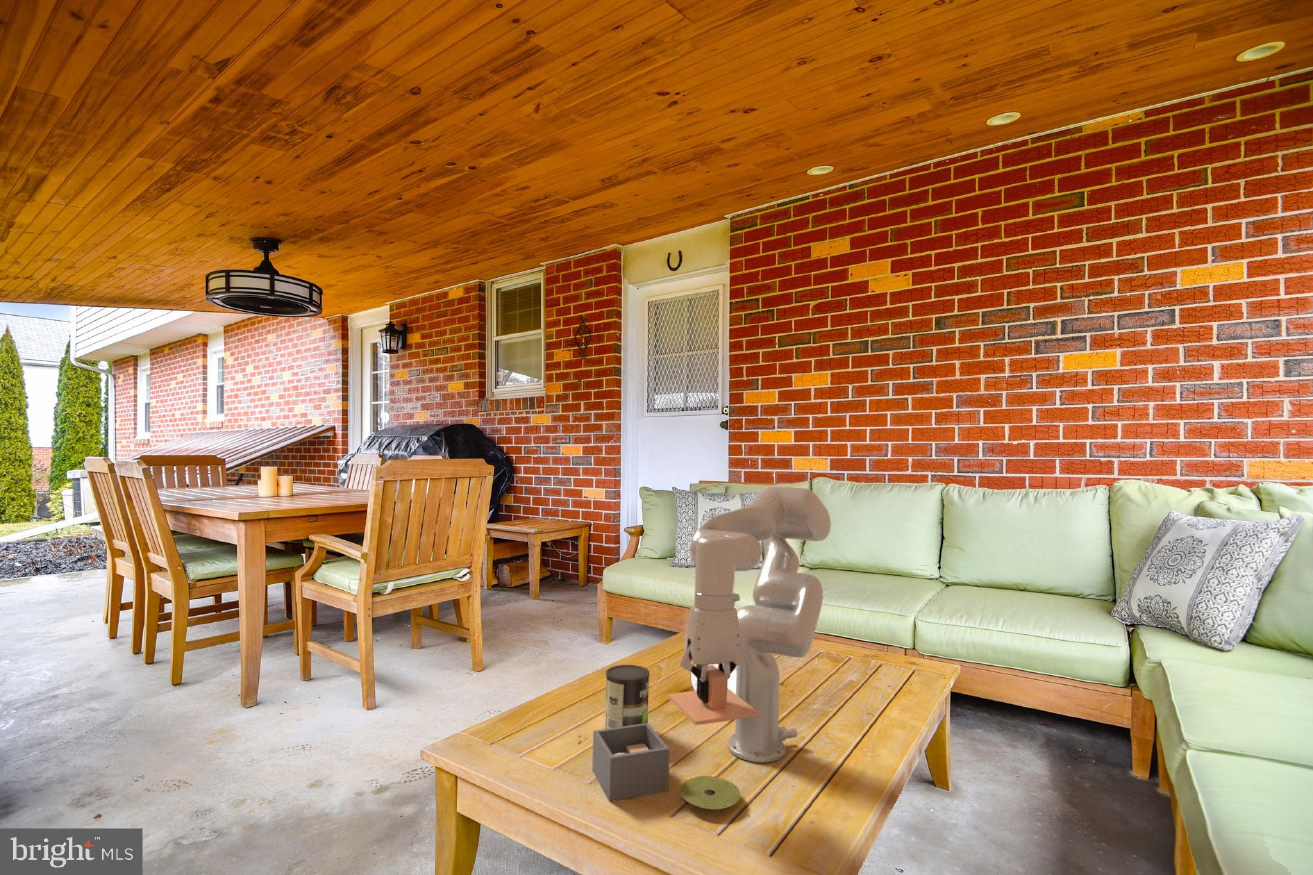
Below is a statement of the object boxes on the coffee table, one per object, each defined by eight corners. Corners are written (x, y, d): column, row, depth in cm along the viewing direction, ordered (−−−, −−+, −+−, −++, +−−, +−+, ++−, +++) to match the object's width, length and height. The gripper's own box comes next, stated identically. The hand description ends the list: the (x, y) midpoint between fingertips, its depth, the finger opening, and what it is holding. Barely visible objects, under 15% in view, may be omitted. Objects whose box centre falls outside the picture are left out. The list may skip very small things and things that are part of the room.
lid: (725, 693, 123) (726, 657, 123) (758, 720, 111) (759, 679, 111) (667, 701, 118) (668, 663, 118) (695, 729, 106) (696, 686, 106)
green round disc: (696, 779, 122) (696, 769, 122) (749, 796, 116) (749, 786, 116) (669, 806, 112) (669, 795, 112) (725, 826, 106) (725, 815, 107)
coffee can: (652, 725, 146) (653, 666, 146) (642, 745, 136) (644, 681, 136) (610, 720, 148) (612, 662, 148) (598, 739, 138) (600, 677, 138)
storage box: (646, 760, 129) (647, 722, 129) (668, 790, 118) (669, 748, 118) (592, 770, 124) (593, 730, 125) (609, 801, 113) (610, 758, 113)
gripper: (742, 594, 122) (740, 687, 121) (667, 599, 116) (664, 696, 115) (761, 603, 115) (759, 701, 114) (682, 609, 109) (680, 712, 108)
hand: (711, 698), depth 115 cm, fingers closed on lid, 3 cm apart
